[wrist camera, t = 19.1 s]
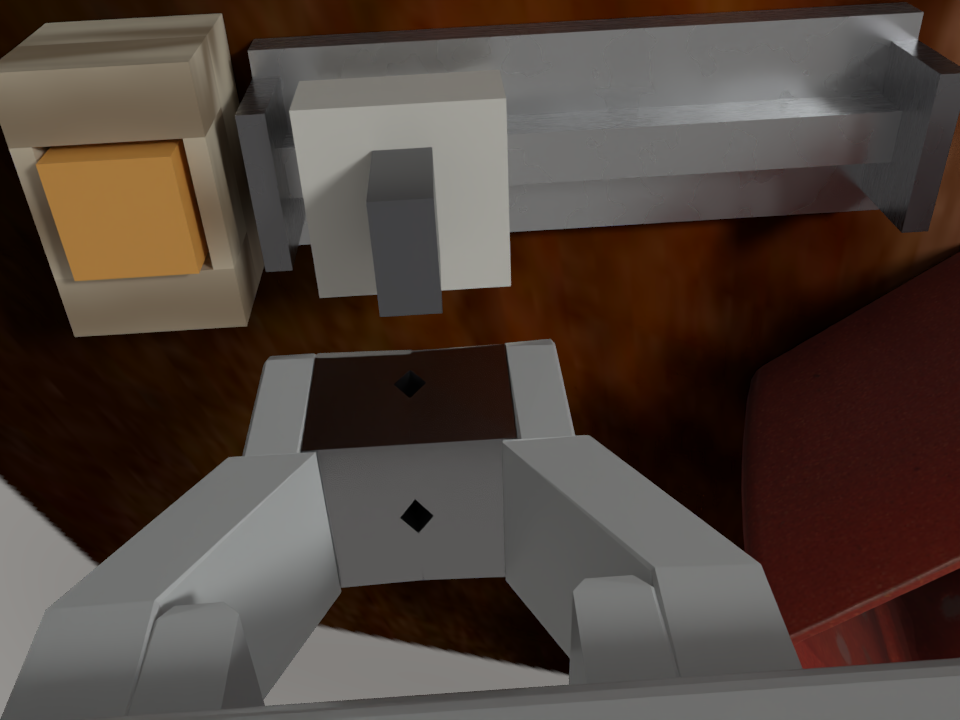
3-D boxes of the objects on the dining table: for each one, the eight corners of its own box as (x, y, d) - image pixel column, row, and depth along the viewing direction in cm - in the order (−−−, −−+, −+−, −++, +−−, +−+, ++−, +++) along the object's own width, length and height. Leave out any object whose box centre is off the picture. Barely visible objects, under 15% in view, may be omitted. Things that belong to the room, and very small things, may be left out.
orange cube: (69, 126, 33) (35, 164, 30) (192, 118, 33) (170, 156, 30) (102, 236, 35) (74, 281, 33) (217, 229, 36) (199, 273, 33)
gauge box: (46, 23, 34) (-18, 73, 29) (221, 13, 34) (188, 62, 29) (121, 273, 40) (79, 350, 35) (270, 264, 40) (249, 339, 35)
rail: (253, 39, 35) (228, 85, 30) (906, 2, 35) (977, 43, 31) (287, 229, 39) (270, 295, 35) (865, 194, 40) (921, 254, 35)
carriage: (305, 63, 34) (272, 159, 26) (495, 52, 34) (516, 144, 26) (330, 235, 38) (308, 360, 30) (501, 224, 38) (520, 346, 30)
